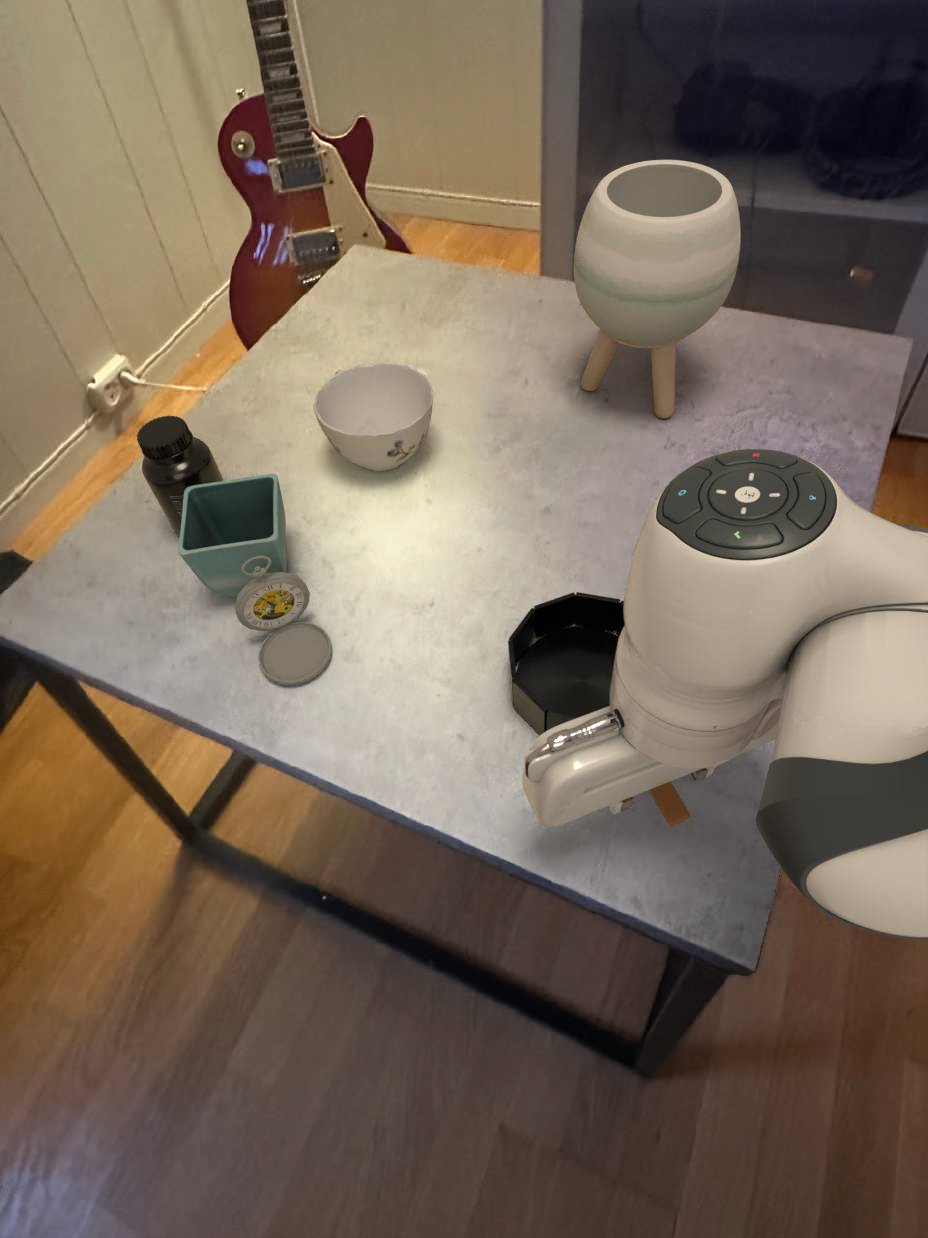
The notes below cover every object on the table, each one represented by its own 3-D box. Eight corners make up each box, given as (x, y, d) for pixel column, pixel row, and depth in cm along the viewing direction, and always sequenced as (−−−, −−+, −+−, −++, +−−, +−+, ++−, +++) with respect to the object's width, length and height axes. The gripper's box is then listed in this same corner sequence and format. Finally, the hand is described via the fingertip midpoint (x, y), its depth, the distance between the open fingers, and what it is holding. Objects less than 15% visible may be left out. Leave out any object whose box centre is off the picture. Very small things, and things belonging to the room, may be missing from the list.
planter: (539, 390, 90) (541, 193, 72) (631, 332, 95) (654, 136, 77) (644, 454, 82) (675, 251, 64) (737, 386, 87) (790, 182, 69)
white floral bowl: (461, 460, 83) (455, 400, 77) (363, 510, 80) (349, 452, 73) (393, 394, 91) (382, 335, 85) (301, 437, 88) (282, 378, 81)
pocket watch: (304, 699, 66) (272, 633, 58) (231, 662, 69) (192, 595, 61) (356, 632, 70) (334, 561, 62) (286, 599, 73) (256, 528, 65)
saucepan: (747, 812, 58) (762, 786, 54) (593, 875, 56) (597, 853, 52) (616, 607, 70) (621, 575, 66) (486, 653, 68) (484, 622, 64)
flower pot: (300, 535, 78) (277, 470, 71) (302, 601, 73) (277, 538, 66) (216, 549, 78) (183, 485, 71) (212, 616, 73) (177, 555, 66)
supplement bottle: (248, 502, 82) (210, 412, 72) (220, 548, 78) (176, 460, 68) (192, 493, 83) (148, 404, 74) (162, 538, 80) (111, 450, 70)
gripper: (547, 798, 41) (544, 879, 52) (867, 673, 44) (800, 775, 55) (503, 705, 45) (509, 799, 56) (802, 596, 48) (751, 705, 59)
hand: (656, 786), depth 56 cm, fingers open, 5 cm apart
